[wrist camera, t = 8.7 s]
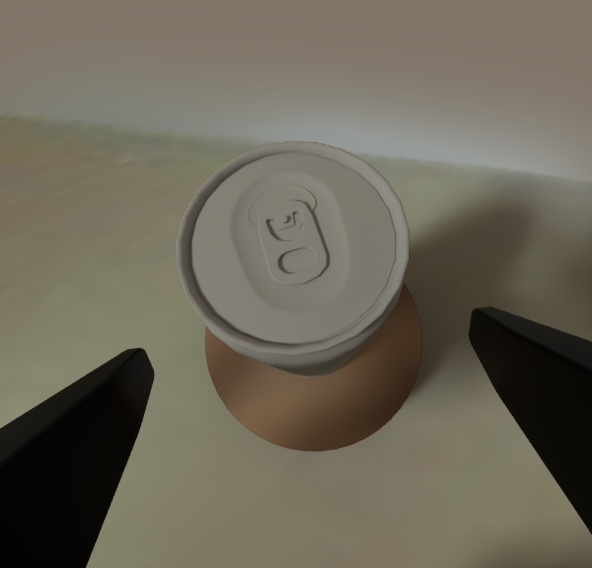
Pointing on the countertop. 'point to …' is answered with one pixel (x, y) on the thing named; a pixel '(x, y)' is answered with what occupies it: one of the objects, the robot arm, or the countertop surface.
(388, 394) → the disc
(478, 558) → the countertop surface
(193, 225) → the beverage can
